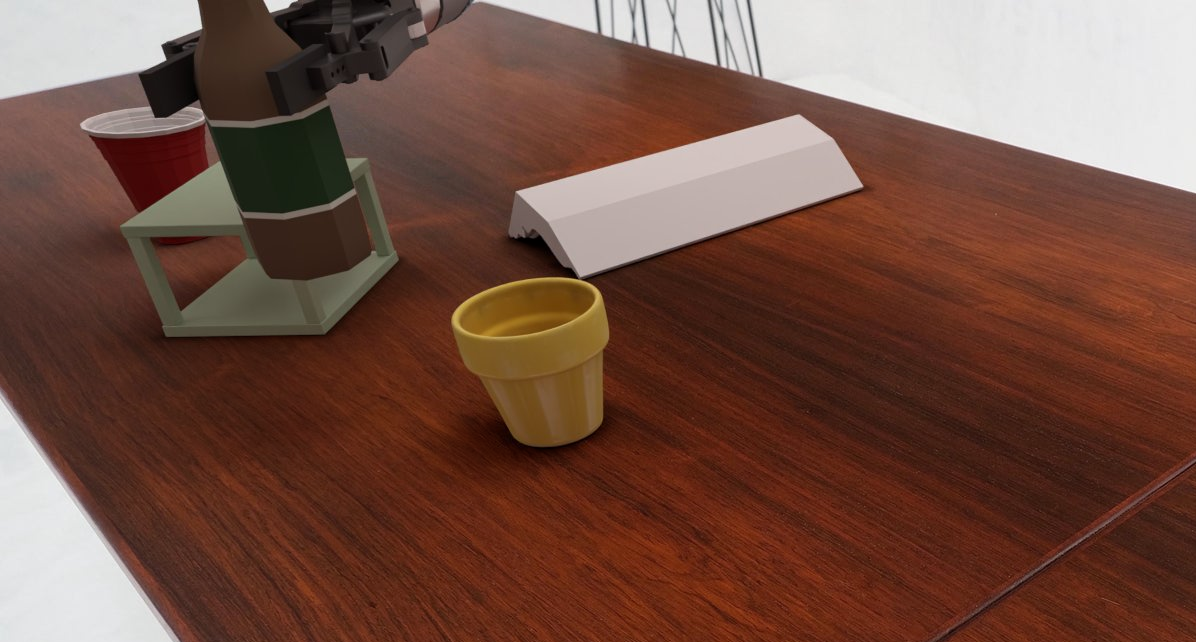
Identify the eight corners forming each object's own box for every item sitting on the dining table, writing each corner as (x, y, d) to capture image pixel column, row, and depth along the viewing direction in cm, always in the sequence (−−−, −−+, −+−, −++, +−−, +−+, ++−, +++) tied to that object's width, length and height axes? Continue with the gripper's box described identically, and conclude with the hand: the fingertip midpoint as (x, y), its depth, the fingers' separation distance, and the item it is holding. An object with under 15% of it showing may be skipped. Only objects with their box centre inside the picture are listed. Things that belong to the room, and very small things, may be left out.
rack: (165, 337, 110) (118, 226, 105) (256, 262, 124) (219, 160, 118) (324, 334, 110) (285, 223, 104) (399, 260, 123) (368, 157, 117)
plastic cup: (265, 229, 131) (222, 111, 124) (153, 263, 124) (101, 140, 118) (223, 206, 137) (180, 92, 130) (114, 236, 131) (63, 118, 124)
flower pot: (478, 410, 98) (443, 291, 92) (613, 381, 101) (588, 264, 96) (492, 475, 90) (456, 350, 85) (639, 441, 93) (614, 318, 88)
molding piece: (565, 330, 126) (580, 277, 117) (508, 232, 127) (518, 173, 119) (833, 238, 143) (863, 186, 135) (780, 153, 144) (807, 96, 136)
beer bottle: (398, 252, 92) (289, -120, 78) (301, 291, 86) (165, -100, 73) (331, 232, 95) (216, -127, 82) (234, 269, 90) (92, -109, 76)
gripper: (510, 55, 100) (392, 152, 81) (257, 60, 101) (82, 157, 82) (487, -48, 96) (356, 29, 77) (223, -43, 97) (30, 35, 78)
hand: (215, 95), depth 79 cm, fingers closed on beer bottle, 7 cm apart
